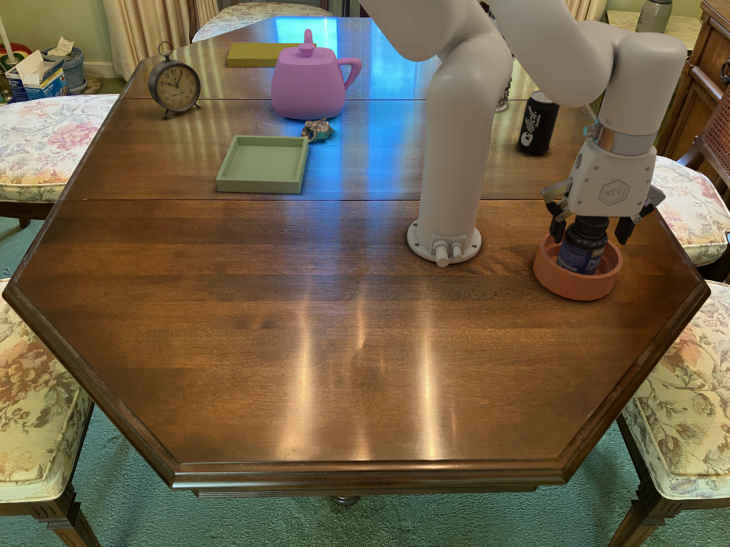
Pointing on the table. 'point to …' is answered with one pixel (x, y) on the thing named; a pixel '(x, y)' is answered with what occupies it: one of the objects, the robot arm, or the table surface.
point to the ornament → (316, 130)
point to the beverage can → (537, 124)
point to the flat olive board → (256, 54)
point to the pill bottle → (583, 244)
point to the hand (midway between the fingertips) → (587, 238)
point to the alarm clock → (174, 84)
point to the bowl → (572, 282)
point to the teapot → (310, 81)
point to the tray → (263, 164)
